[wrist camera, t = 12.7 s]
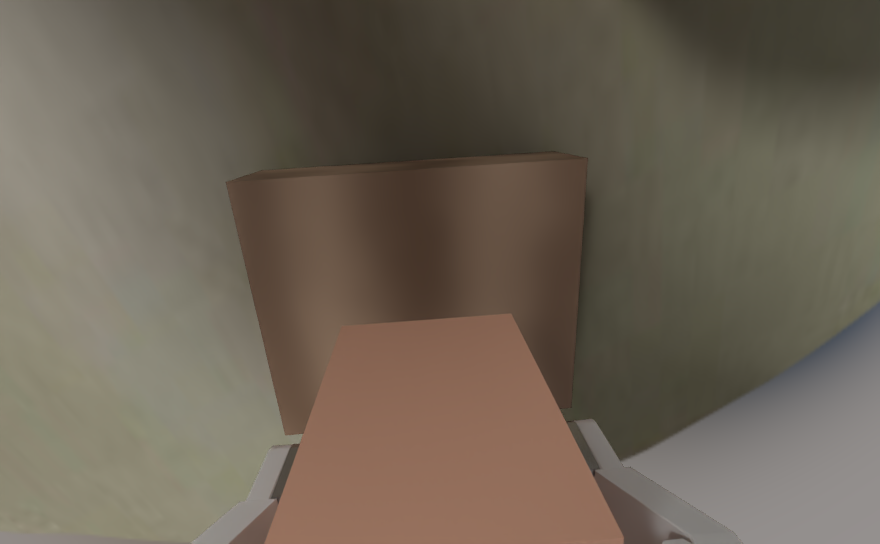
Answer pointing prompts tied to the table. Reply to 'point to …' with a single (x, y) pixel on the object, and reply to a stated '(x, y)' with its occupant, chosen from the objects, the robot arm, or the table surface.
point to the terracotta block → (438, 445)
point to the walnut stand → (411, 256)
